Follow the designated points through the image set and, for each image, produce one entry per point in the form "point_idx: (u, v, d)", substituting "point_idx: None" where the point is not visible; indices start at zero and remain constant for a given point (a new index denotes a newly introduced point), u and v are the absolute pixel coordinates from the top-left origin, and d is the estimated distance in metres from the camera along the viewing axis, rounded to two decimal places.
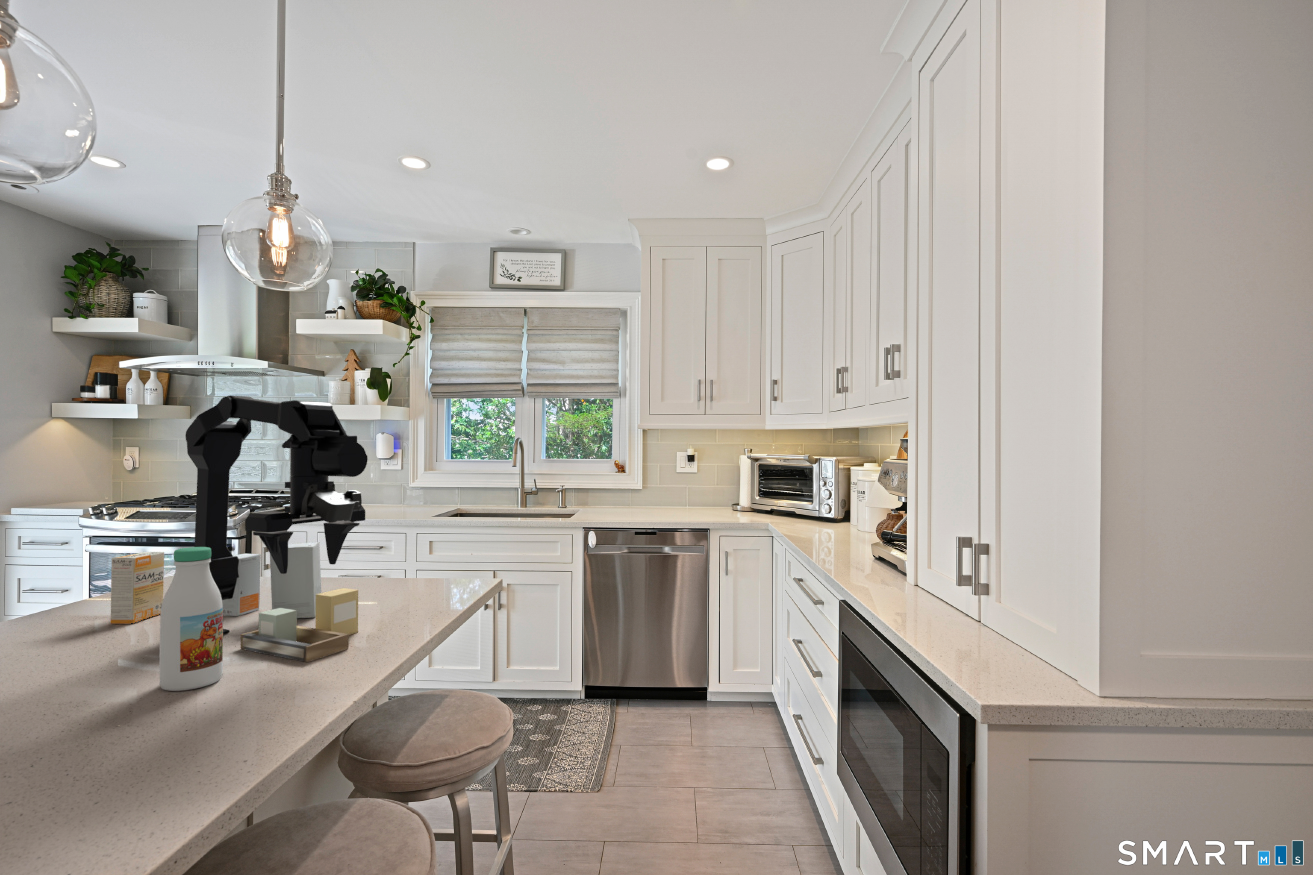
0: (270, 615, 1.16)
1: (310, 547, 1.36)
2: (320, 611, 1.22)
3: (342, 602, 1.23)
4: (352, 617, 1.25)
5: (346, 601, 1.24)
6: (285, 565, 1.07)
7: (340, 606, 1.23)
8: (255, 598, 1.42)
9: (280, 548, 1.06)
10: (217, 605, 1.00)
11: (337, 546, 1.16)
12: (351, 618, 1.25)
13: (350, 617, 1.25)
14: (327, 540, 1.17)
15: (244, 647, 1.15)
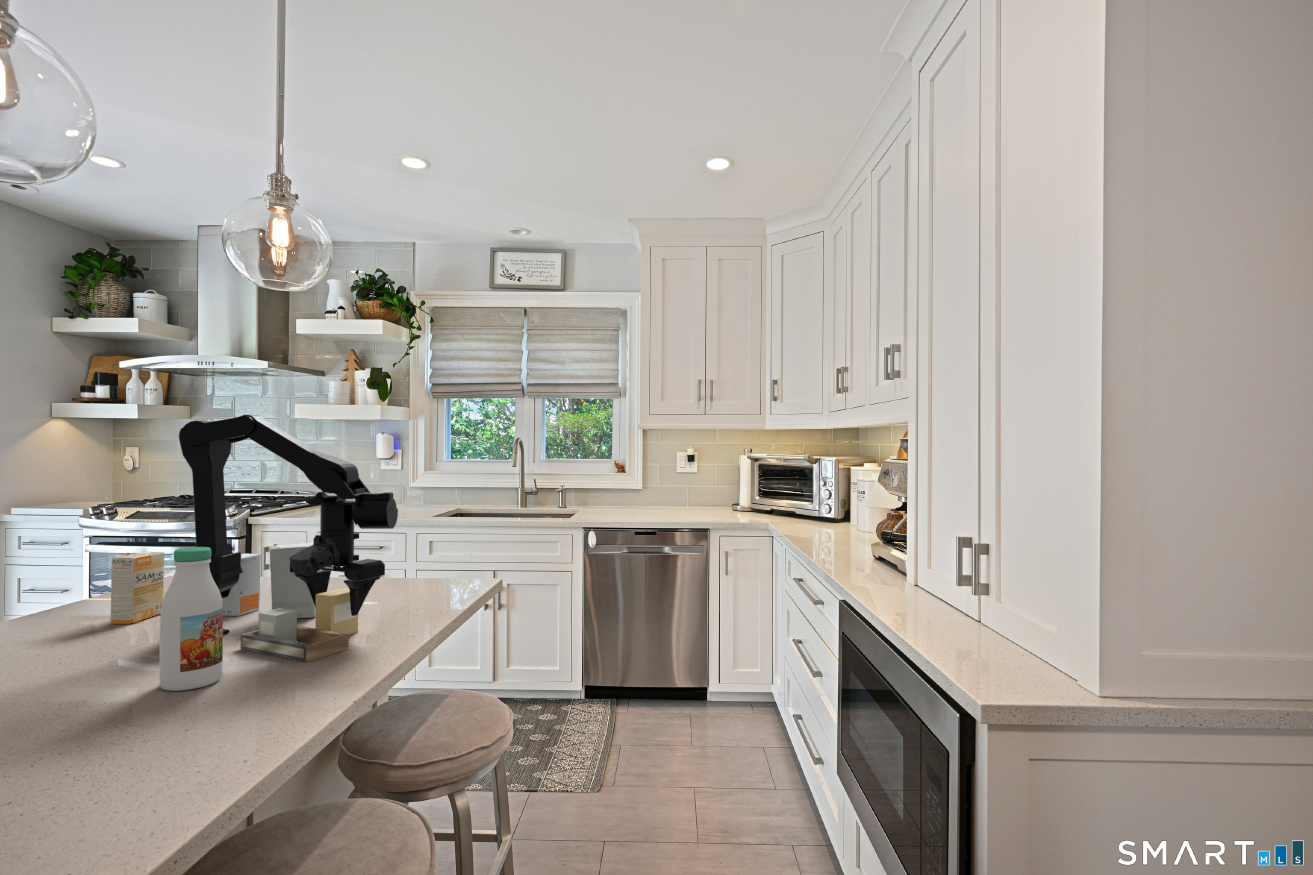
0: (270, 615, 1.16)
1: None
2: (320, 611, 1.22)
3: (342, 602, 1.23)
4: (352, 617, 1.25)
5: (346, 601, 1.24)
6: (314, 603, 1.26)
7: (340, 606, 1.23)
8: (255, 598, 1.42)
9: (308, 587, 1.26)
10: (217, 605, 1.00)
11: (350, 599, 1.22)
12: (351, 618, 1.25)
13: (350, 617, 1.25)
14: None
15: (244, 647, 1.15)
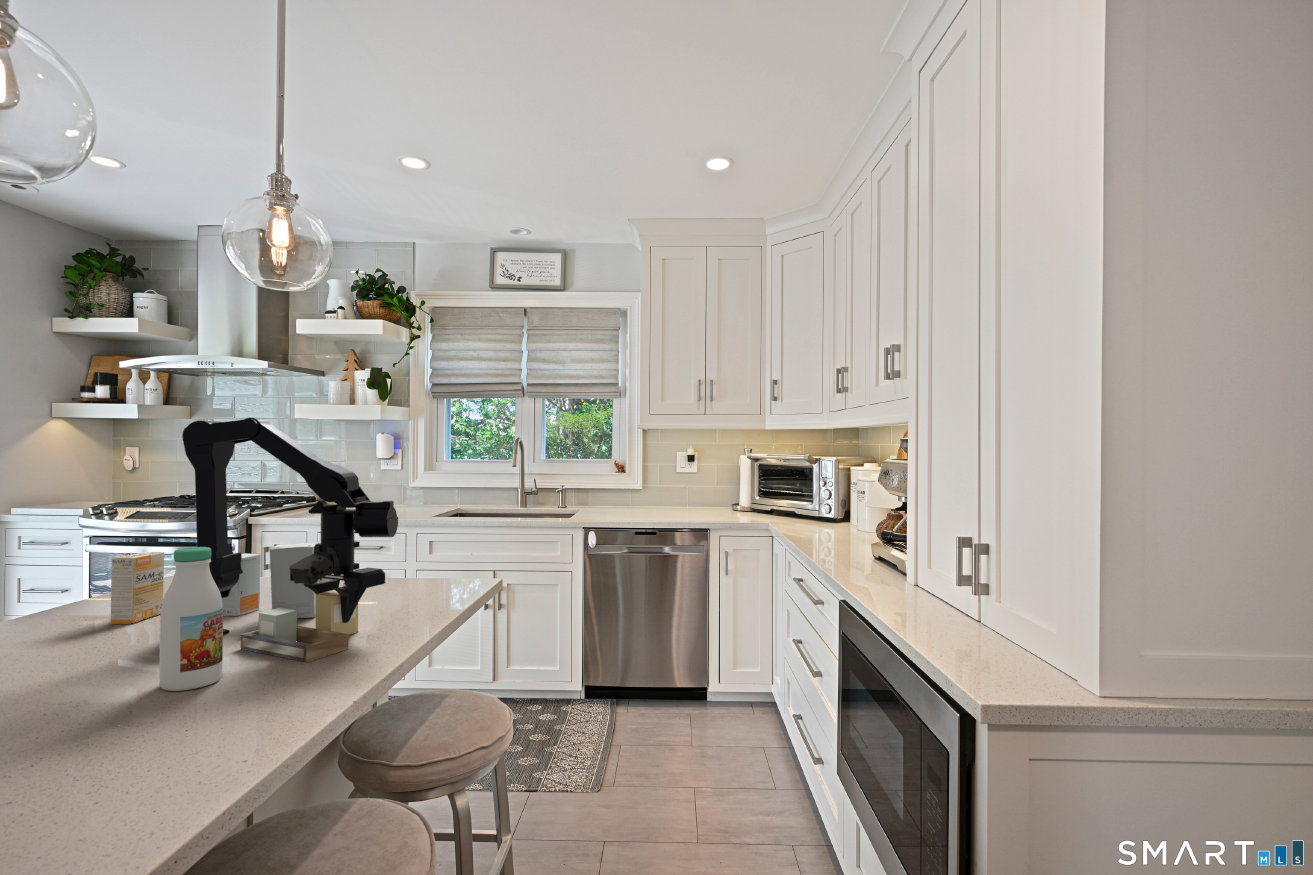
0: (270, 615, 1.16)
1: (310, 547, 1.36)
2: (320, 611, 1.22)
3: None
4: (352, 617, 1.25)
5: None
6: None
7: (340, 606, 1.23)
8: (255, 598, 1.42)
9: None
10: (217, 605, 1.00)
11: (341, 606, 1.23)
12: (351, 618, 1.25)
13: None
14: None
15: (244, 647, 1.15)
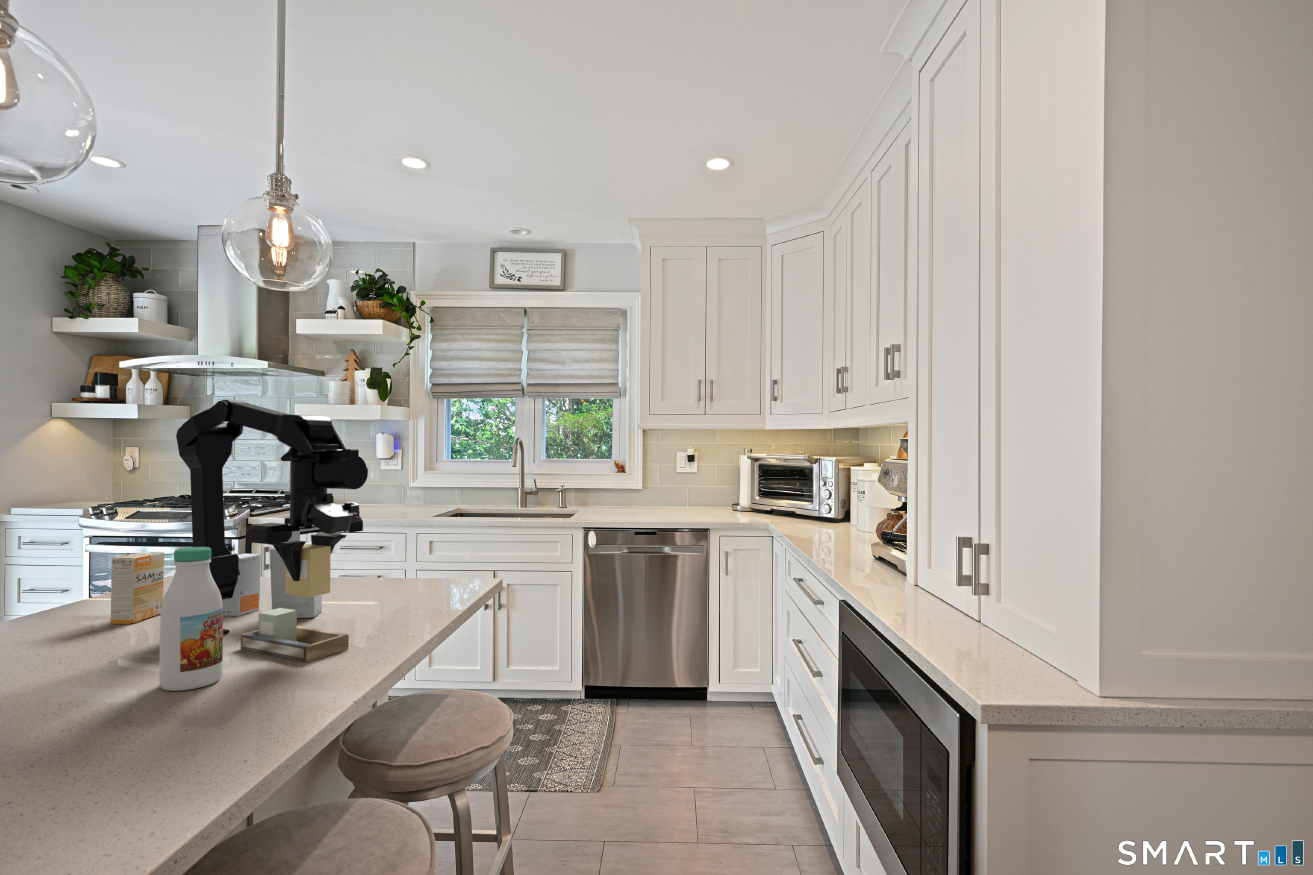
0: (270, 615, 1.16)
1: None
2: (316, 566, 1.13)
3: None
4: None
5: None
6: (298, 573, 1.13)
7: None
8: (255, 598, 1.42)
9: (293, 557, 1.11)
10: (217, 605, 1.00)
11: None
12: None
13: None
14: None
15: (244, 647, 1.15)
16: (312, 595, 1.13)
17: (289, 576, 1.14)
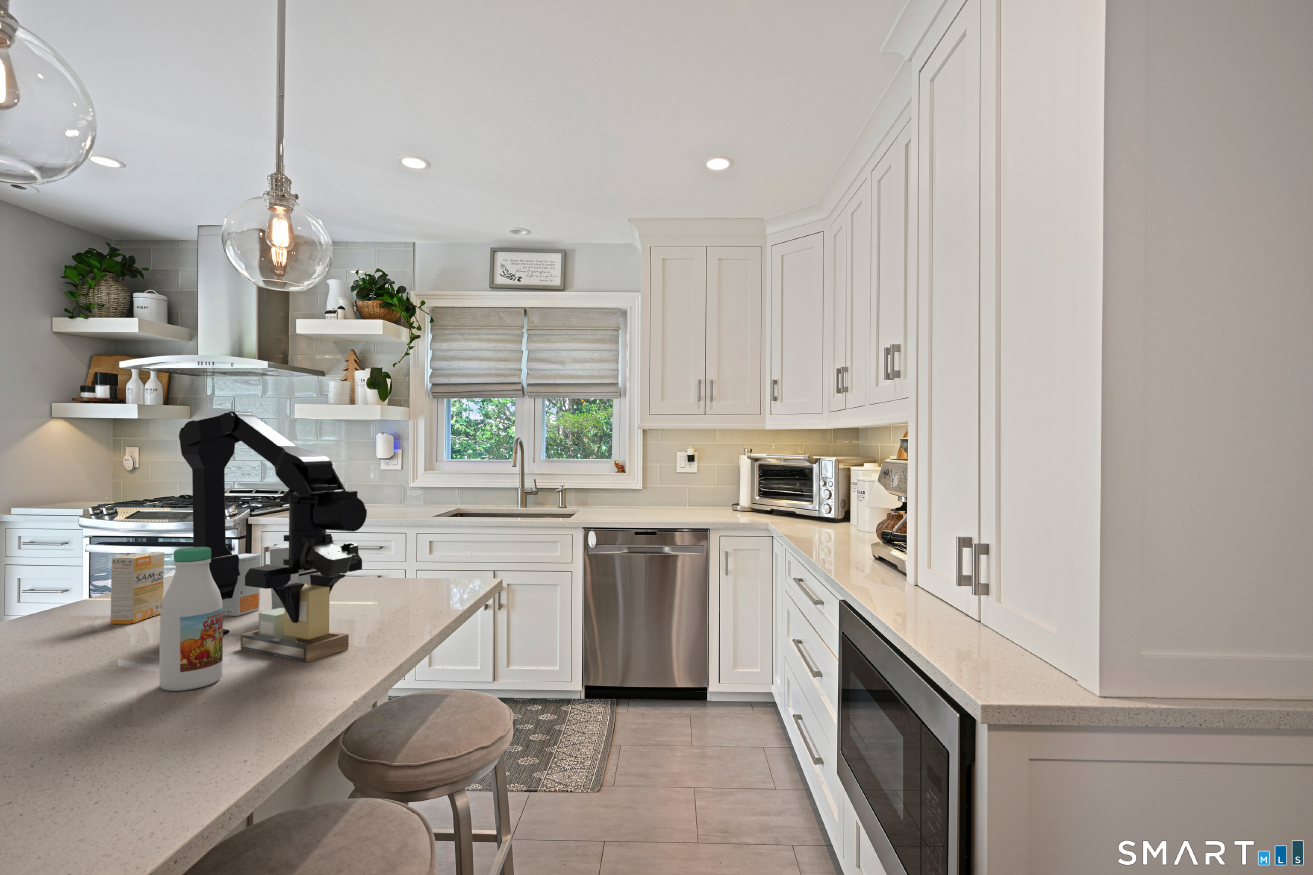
0: (270, 615, 1.16)
1: None
2: (315, 607, 1.13)
3: None
4: None
5: None
6: (297, 615, 1.12)
7: None
8: (255, 598, 1.42)
9: (292, 599, 1.11)
10: (217, 605, 1.00)
11: None
12: None
13: None
14: None
15: (244, 647, 1.15)
16: (311, 637, 1.12)
17: (288, 617, 1.14)
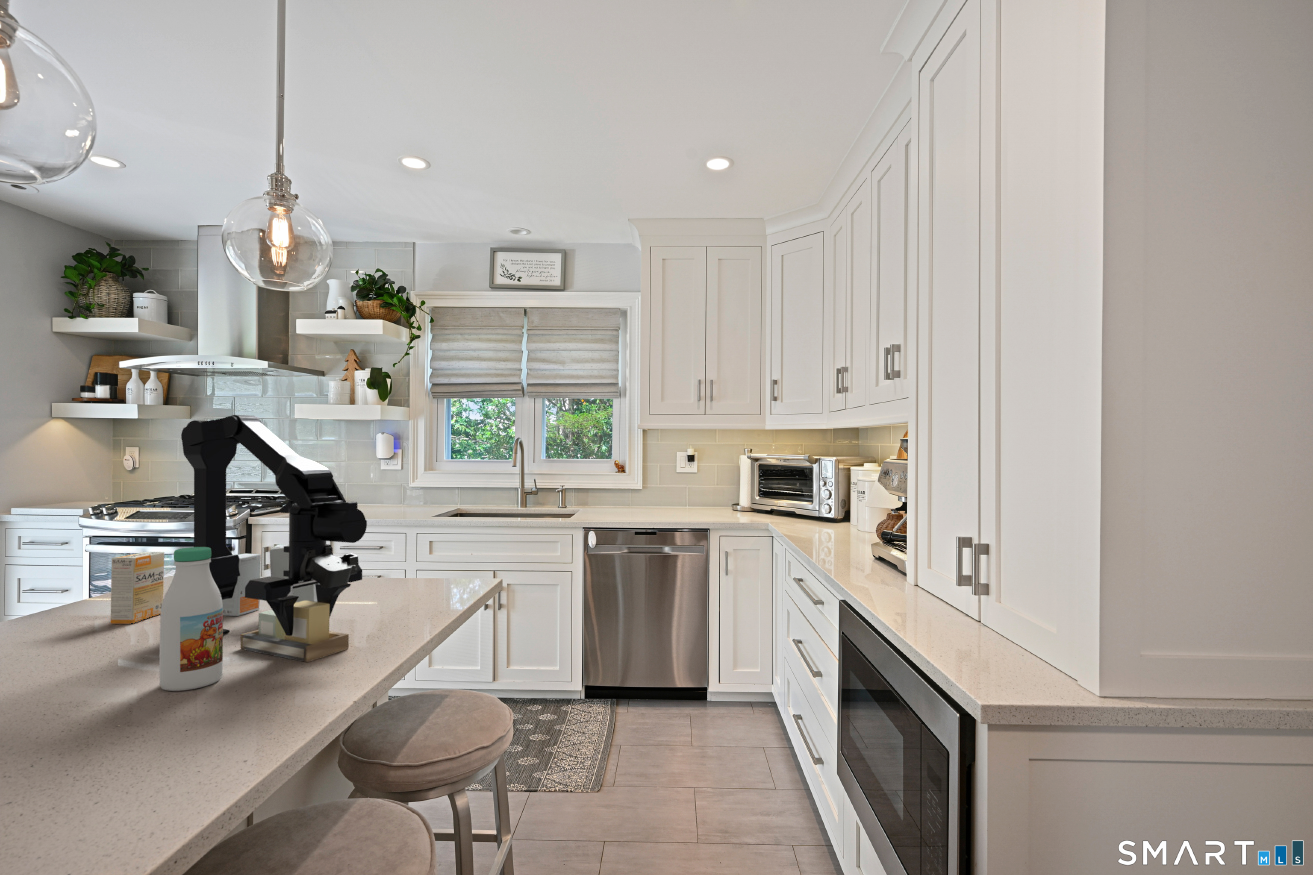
0: (270, 615, 1.16)
1: None
2: (315, 625, 1.13)
3: None
4: None
5: None
6: (291, 628, 1.11)
7: None
8: None
9: (286, 612, 1.10)
10: (217, 605, 1.00)
11: None
12: None
13: None
14: (319, 601, 1.19)
15: (244, 647, 1.15)
16: None
17: None
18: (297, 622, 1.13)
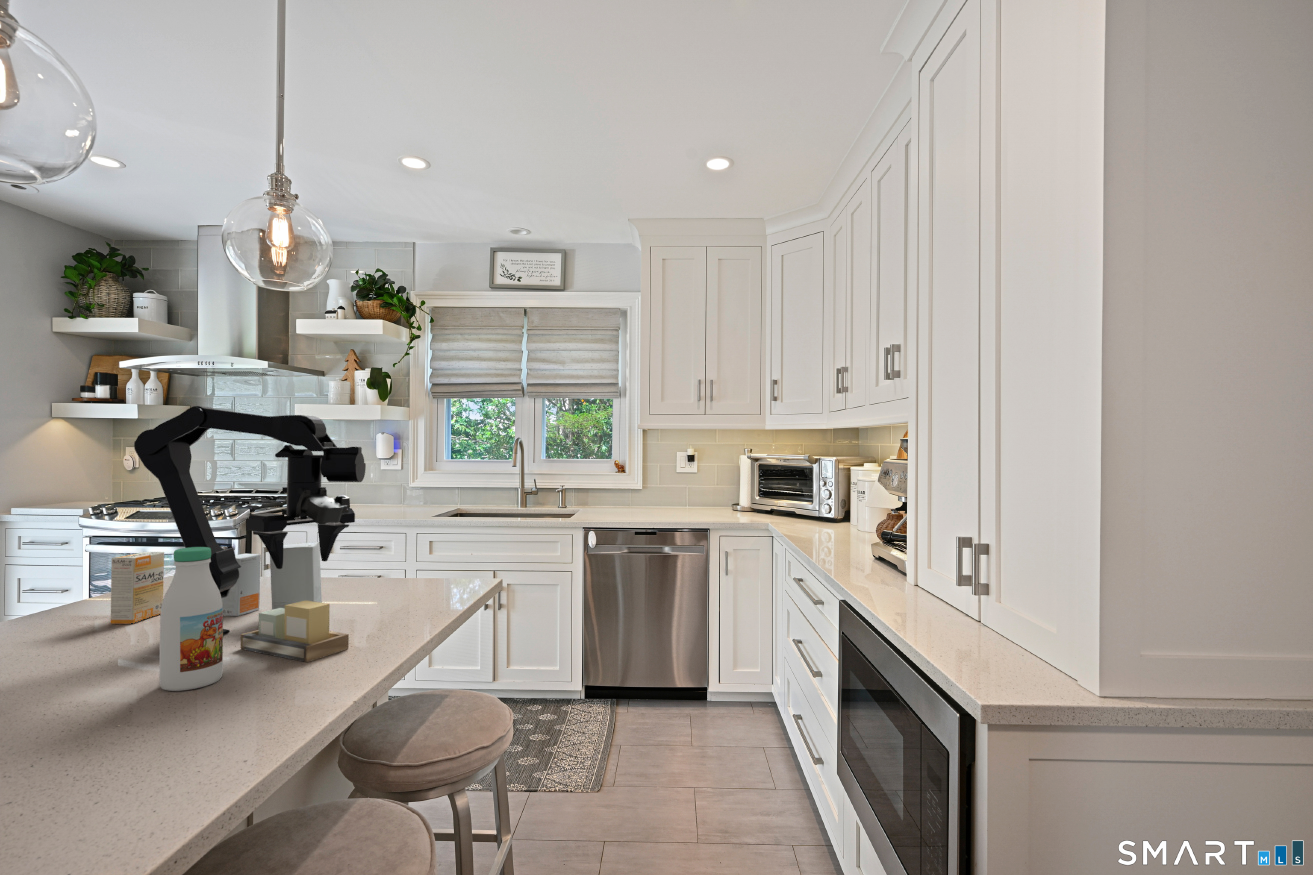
0: (270, 615, 1.16)
1: (310, 547, 1.36)
2: (315, 625, 1.13)
3: None
4: None
5: None
6: (281, 561, 1.21)
7: None
8: (255, 598, 1.42)
9: (276, 546, 1.20)
10: (217, 605, 1.00)
11: (329, 545, 1.30)
12: None
13: None
14: (320, 539, 1.31)
15: (244, 647, 1.15)
16: None
17: (288, 634, 1.14)
18: (297, 622, 1.13)
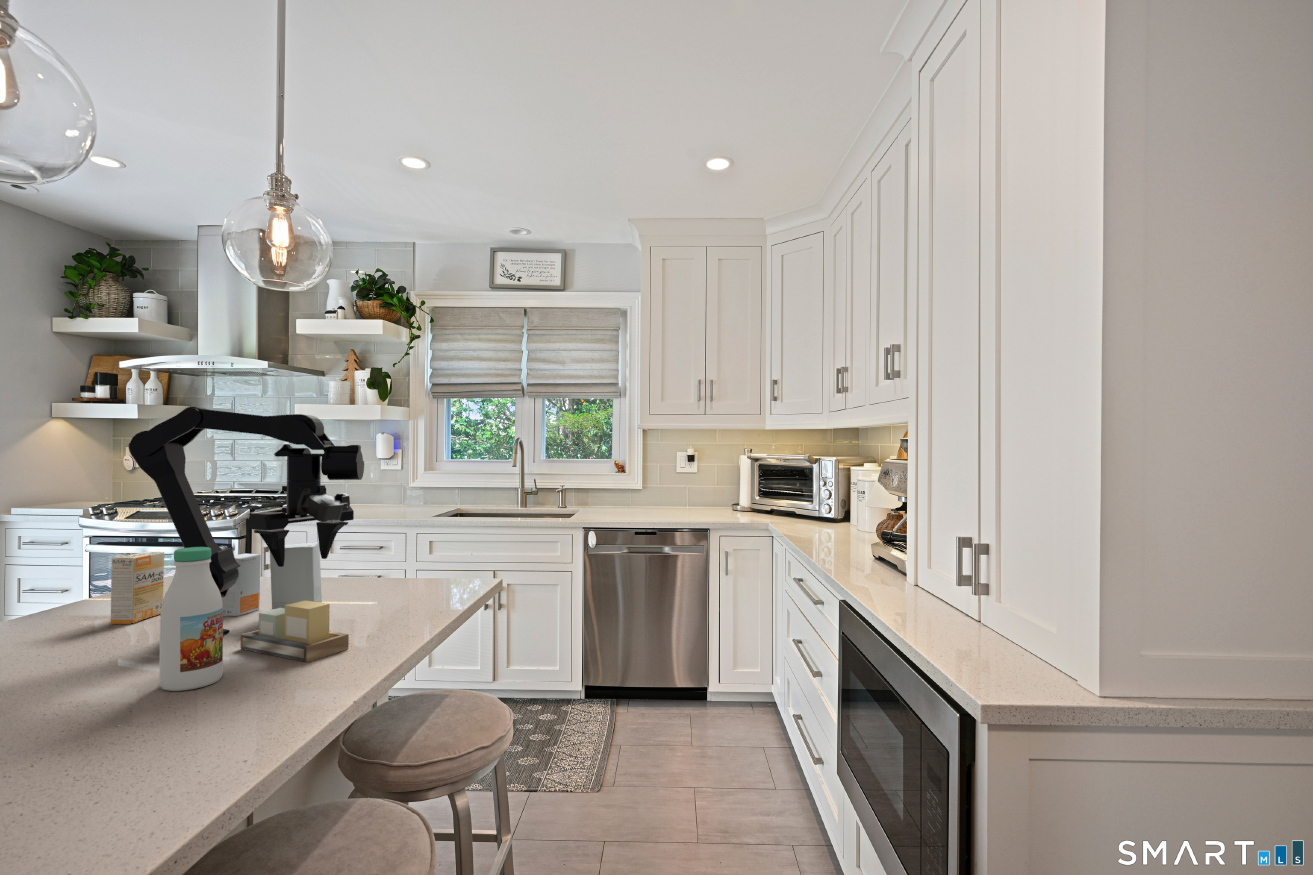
0: (270, 615, 1.16)
1: (310, 547, 1.36)
2: (315, 625, 1.13)
3: None
4: None
5: None
6: (282, 559, 1.22)
7: None
8: (255, 598, 1.42)
9: (278, 544, 1.21)
10: (217, 605, 1.00)
11: (328, 542, 1.31)
12: None
13: None
14: (319, 537, 1.32)
15: (244, 647, 1.15)
16: None
17: (288, 634, 1.14)
18: (297, 622, 1.13)
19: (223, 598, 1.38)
